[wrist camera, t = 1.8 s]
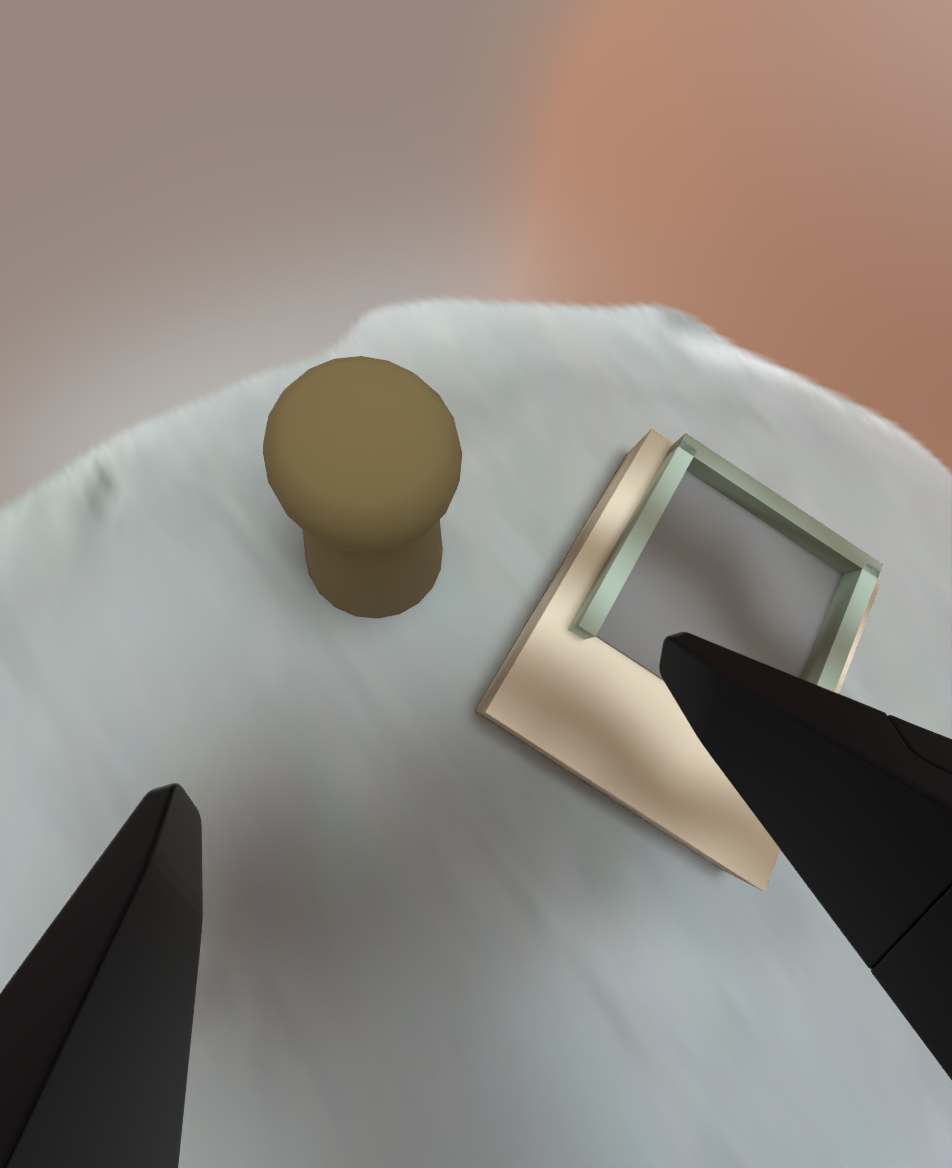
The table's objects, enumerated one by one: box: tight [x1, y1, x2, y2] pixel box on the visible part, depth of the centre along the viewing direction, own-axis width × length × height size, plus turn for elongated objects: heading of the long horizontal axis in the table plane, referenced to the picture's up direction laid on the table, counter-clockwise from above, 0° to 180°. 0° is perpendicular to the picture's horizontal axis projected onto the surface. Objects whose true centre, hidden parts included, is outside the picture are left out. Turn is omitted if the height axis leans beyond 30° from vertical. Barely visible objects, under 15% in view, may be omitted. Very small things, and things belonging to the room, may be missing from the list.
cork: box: [263, 356, 462, 618], centre depth 17 cm, size 6×6×11 cm
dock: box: [475, 429, 883, 891], centre depth 22 cm, size 15×13×4 cm
